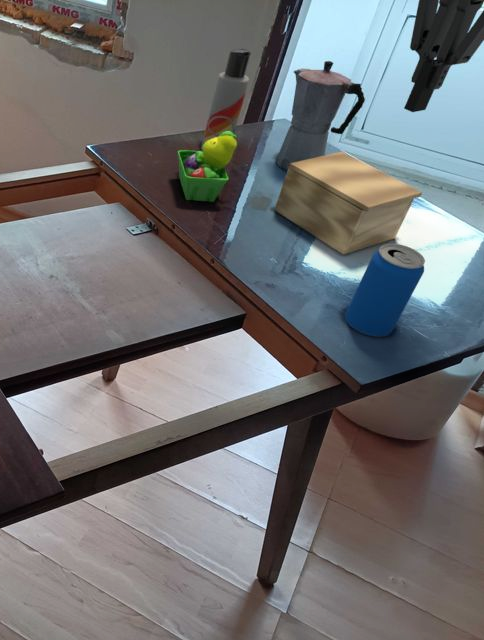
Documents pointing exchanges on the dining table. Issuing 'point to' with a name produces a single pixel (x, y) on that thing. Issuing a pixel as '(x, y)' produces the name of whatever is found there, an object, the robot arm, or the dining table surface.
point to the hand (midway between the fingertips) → (414, 109)
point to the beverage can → (385, 289)
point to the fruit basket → (206, 168)
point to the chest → (337, 215)
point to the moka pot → (316, 113)
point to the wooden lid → (355, 181)
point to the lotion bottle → (228, 95)
